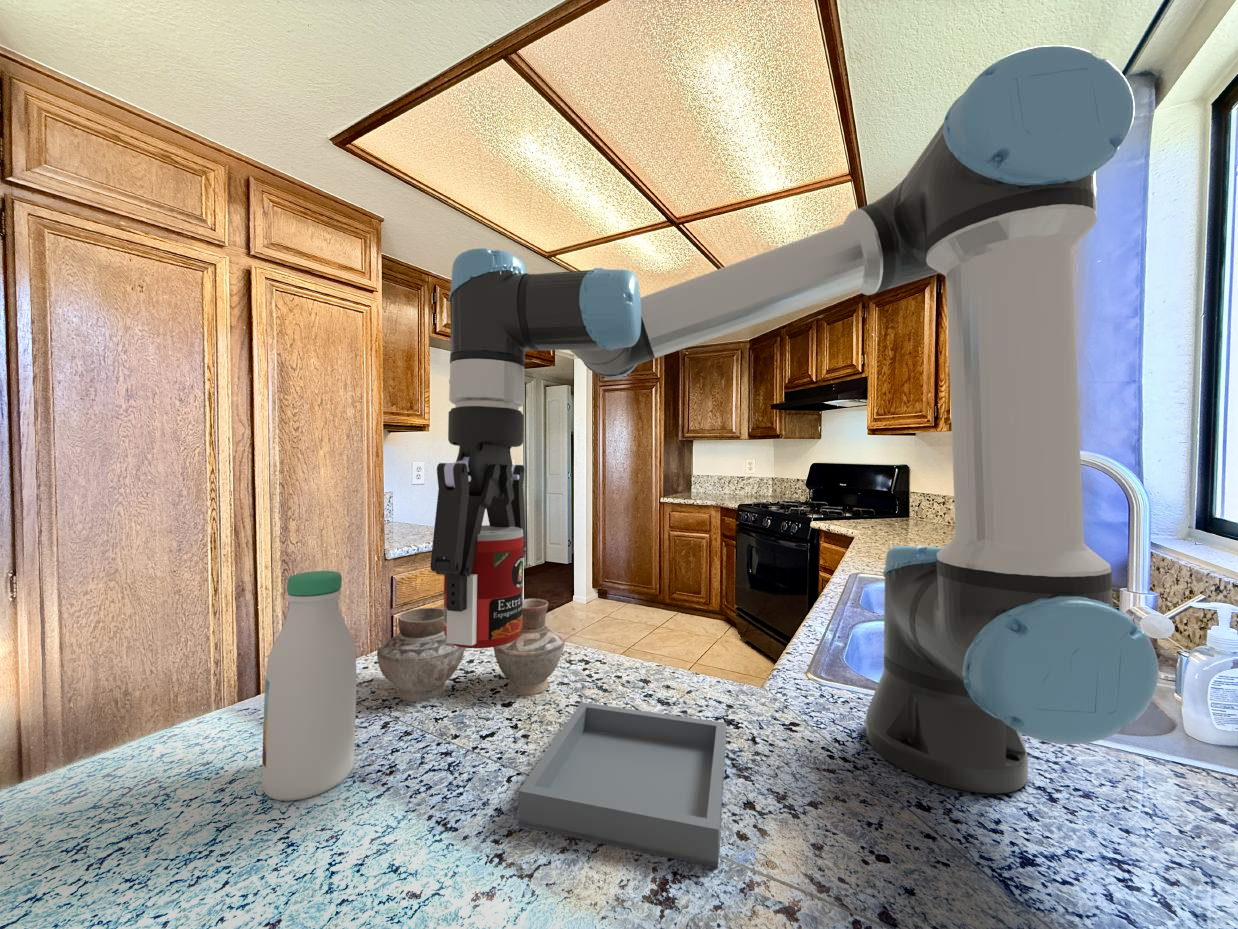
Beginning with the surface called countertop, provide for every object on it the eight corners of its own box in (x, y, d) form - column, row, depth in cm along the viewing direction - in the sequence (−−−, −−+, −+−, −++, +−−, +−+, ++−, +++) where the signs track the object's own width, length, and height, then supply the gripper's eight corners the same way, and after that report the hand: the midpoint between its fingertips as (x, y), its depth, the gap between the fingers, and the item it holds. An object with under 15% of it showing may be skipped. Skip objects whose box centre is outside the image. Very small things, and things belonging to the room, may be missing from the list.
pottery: (565, 704, 65) (567, 613, 66) (363, 715, 61) (365, 618, 61) (561, 669, 77) (563, 592, 77) (389, 677, 72) (391, 595, 73)
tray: (725, 749, 55) (726, 722, 55) (718, 868, 39) (718, 829, 39) (580, 727, 59) (581, 702, 59) (517, 825, 43) (518, 790, 43)
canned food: (503, 653, 47) (505, 535, 47) (426, 646, 48) (428, 532, 48) (533, 627, 54) (535, 526, 54) (466, 622, 56) (468, 524, 56)
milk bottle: (371, 762, 51) (376, 569, 52) (306, 811, 44) (312, 586, 44) (312, 749, 54) (317, 564, 54) (240, 794, 46) (246, 579, 46)
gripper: (500, 418, 62) (498, 601, 62) (386, 394, 42) (382, 663, 42) (557, 417, 60) (554, 606, 60) (465, 391, 40) (461, 672, 40)
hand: (483, 629), depth 51 cm, fingers closed on canned food, 8 cm apart
